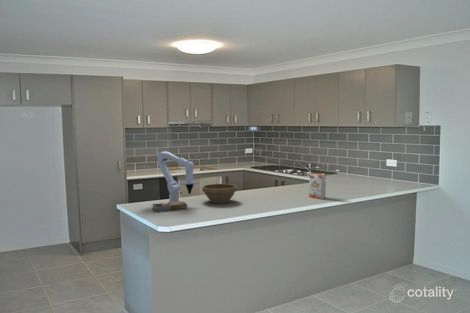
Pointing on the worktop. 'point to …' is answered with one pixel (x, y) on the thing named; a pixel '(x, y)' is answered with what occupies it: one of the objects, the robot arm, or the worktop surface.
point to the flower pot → (219, 192)
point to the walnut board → (178, 205)
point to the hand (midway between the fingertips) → (189, 193)
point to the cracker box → (317, 186)
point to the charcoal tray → (158, 207)
